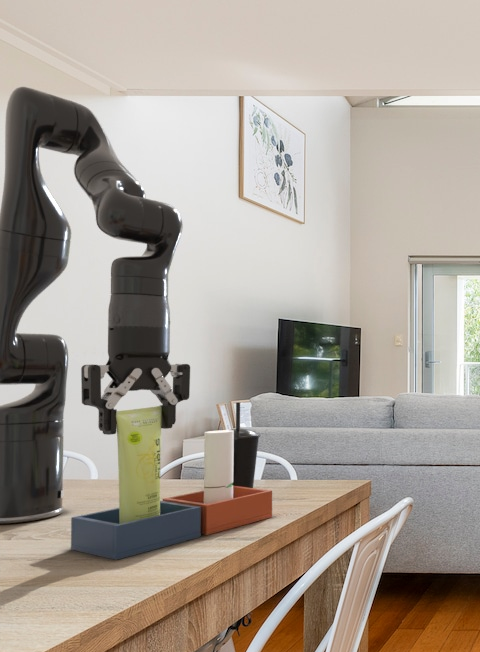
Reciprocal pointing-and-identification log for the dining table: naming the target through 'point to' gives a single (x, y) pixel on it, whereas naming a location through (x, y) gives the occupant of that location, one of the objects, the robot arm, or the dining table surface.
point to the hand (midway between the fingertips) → (138, 430)
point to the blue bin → (134, 531)
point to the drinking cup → (244, 454)
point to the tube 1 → (139, 463)
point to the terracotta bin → (229, 508)
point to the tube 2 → (218, 465)
